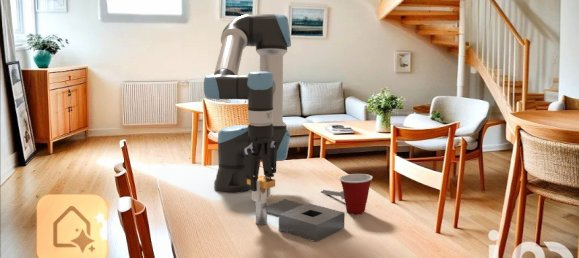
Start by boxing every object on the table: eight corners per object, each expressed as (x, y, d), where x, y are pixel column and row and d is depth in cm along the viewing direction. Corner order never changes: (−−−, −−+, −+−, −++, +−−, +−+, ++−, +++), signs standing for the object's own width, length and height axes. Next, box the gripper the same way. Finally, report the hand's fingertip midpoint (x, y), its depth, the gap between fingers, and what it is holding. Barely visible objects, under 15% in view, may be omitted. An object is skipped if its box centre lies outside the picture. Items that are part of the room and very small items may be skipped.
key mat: (257, 210, 181) (257, 208, 181) (285, 200, 192) (285, 199, 192) (295, 221, 171) (295, 219, 171) (321, 210, 182) (321, 208, 182)
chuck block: (278, 230, 164) (278, 214, 163) (307, 218, 174) (307, 203, 174) (316, 241, 155) (316, 225, 154) (344, 228, 166) (344, 212, 165)
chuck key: (247, 221, 171) (246, 177, 168) (256, 217, 174) (255, 175, 171) (266, 227, 166) (266, 182, 163) (275, 223, 169) (275, 179, 166)
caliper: (355, 208, 185) (355, 190, 184) (352, 208, 185) (352, 190, 184) (323, 192, 203) (323, 175, 202) (320, 192, 202) (320, 176, 201)
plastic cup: (345, 204, 188) (346, 170, 186) (376, 209, 183) (377, 174, 181) (333, 214, 178) (333, 178, 176) (364, 219, 174) (365, 182, 171)
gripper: (249, 129, 155) (250, 208, 160) (288, 121, 168) (288, 194, 172) (231, 126, 160) (232, 203, 164) (270, 118, 173) (270, 190, 177)
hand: (261, 198), depth 168 cm, fingers closed on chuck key, 4 cm apart
